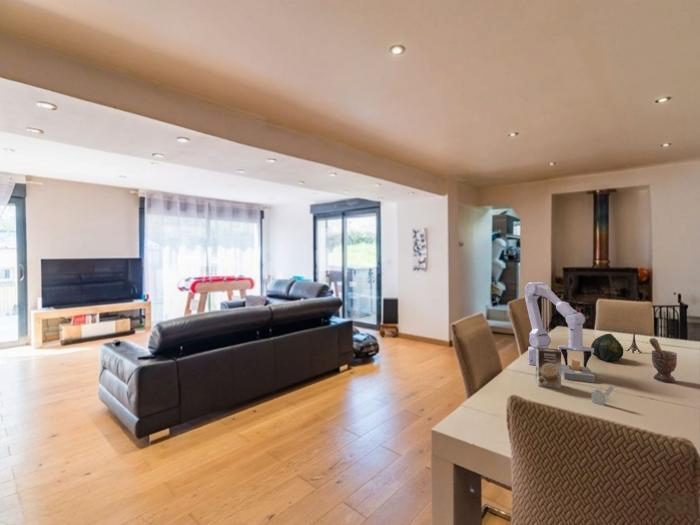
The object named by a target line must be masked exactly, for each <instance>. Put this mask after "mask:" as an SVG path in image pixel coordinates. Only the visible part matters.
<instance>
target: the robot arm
mask: <svg viewBox="0 0 700 525" xmlns="http://www.w3.org/2000/svg"><path fill="white" fill-rule="evenodd" d="M524 291H525V294H524V295H525V296H524V300H525V304H526V308H527V312H528V314H527V315H528V318H529V321H530V326H531V327H530V328H531V330H530V332H529V340H528V342H529V344H530V346H528V350H527V361H528V365H532V366H536V347H539V348H549V346H550V345H551V343H552V340H551V337H550V335H549V333H548V331H547V330H546V329H545V328H544V326H543V320H542V316H541V312H540V308H539V305H538V299H539V298H540V297H541V296H544V297H545V298H546V299H547V300H549V301H550V302H551V303H552V304H553V305H554V306H556V307H555V309H556V310H557V312H558V313H559V314H560V315H562V317H564V318H565V322H566V324H567V328H568V345H567V344H566V345H564V344H561V345H560V344H558V345H557V349H558V350H560V351H561V355H562V356H563V360H564V365H569V363H568V354H569V353H568V351H571V352H582V353H583V367H588V366H587V365H588V362H589V361H590V358H591V357H592V355H593V353H594V349H593V348H591V347H587V346H583V345H584V344H583V343H584V341H583V335H584V332H583V328H584V327H583V325H584V324H585V323H586V317H585V315H584V314H583V313H582V312H578V310H577V309H574V308H573V307H572V306H571V305H570V303H569V302H566V301H562V300H561V298H559V297H558V296H557V295H556V294H555V293H554V292H553V291H552V290H551V289H550V285H549V284H547V283H546V282H544V281H537V282H536V281H535V282H531V281H530V282H528V283H527V284H526V285H525V286H524Z"/></svg>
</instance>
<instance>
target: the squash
mask: <svg viewBox="0 0 700 525" xmlns="http://www.w3.org/2000/svg"><path fill="white" fill-rule="evenodd" d="M590 348H593V349H594V353H592V355H593V356H595V357H596V358H599V359H602V360H603V361H604V362H607V361H609V362H613V361H617V360H620V359H622V357H623V356H624V350H623V349H624V347H623V346H622V344H621V342H620V341H619V340H618V339H617V338H616V337H615V336H614V335H613V334H612V333H604V334H602V335H600V336H598V337H596V338H594V340H593V341H592V343H591V345H590Z"/></svg>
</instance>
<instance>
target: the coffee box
mask: <svg viewBox="0 0 700 525" xmlns="http://www.w3.org/2000/svg"><path fill="white" fill-rule="evenodd" d="M561 364H562V352H561V350H558V348H551V347H548V348H539V347H536V365H535V383H536V384H537V387H546V388H554V389H562V373H561Z"/></svg>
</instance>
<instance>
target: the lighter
mask: <svg viewBox="0 0 700 525" xmlns="http://www.w3.org/2000/svg"><path fill="white" fill-rule="evenodd" d="M614 388H615V386H613V385H612V384H610V385H609V386H608V388H607V390H606V391H605V392H603V391H602V389H598V388H595V389H594V390H591V403H594V404H597V403H598V405H601V404H602V405H601V406H605V405H606V396H607V397H609V396H610V395H611V393H612V392H613V390H614Z"/></svg>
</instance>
